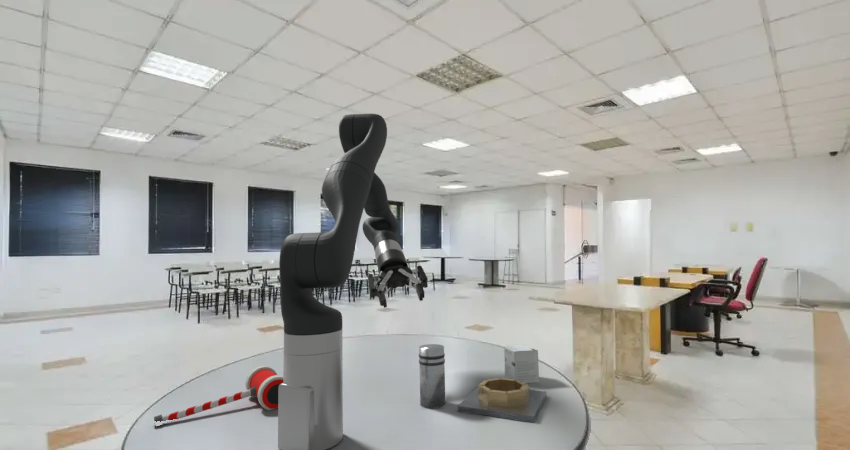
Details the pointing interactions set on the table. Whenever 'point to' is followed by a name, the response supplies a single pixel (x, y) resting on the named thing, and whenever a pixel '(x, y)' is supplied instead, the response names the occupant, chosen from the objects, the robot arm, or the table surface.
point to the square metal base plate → (504, 400)
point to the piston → (432, 375)
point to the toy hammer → (241, 394)
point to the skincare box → (521, 363)
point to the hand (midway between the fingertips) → (403, 301)
